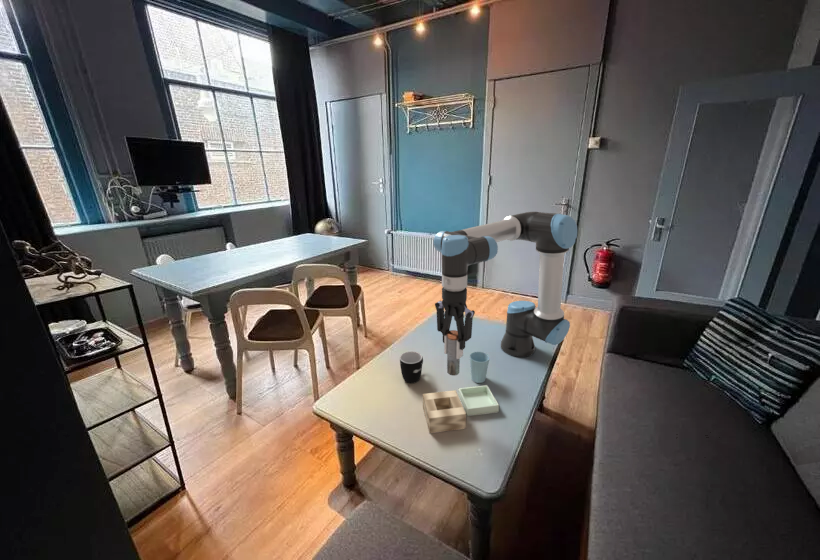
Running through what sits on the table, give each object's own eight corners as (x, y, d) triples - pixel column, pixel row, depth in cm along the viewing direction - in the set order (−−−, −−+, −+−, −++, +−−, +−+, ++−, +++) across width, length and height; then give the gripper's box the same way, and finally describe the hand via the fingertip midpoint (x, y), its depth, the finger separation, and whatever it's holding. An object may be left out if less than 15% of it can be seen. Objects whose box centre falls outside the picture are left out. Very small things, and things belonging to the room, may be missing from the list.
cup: (467, 373, 135) (468, 351, 132) (485, 373, 135) (487, 351, 132) (470, 385, 128) (471, 362, 125) (489, 384, 128) (491, 361, 125)
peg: (445, 368, 110) (446, 330, 105) (457, 367, 110) (458, 329, 105) (448, 376, 106) (449, 336, 101) (460, 374, 106) (461, 335, 101)
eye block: (455, 404, 118) (455, 390, 116) (465, 428, 107) (465, 413, 105) (422, 407, 117) (422, 393, 115) (429, 433, 105) (429, 418, 103)
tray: (486, 391, 124) (487, 385, 123) (498, 412, 114) (498, 405, 113) (458, 395, 123) (458, 388, 122) (467, 416, 112) (467, 408, 111)
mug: (413, 388, 127) (413, 366, 124) (396, 380, 132) (395, 358, 129) (431, 373, 136) (431, 352, 133) (414, 366, 141) (413, 345, 138)
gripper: (424, 284, 101) (426, 350, 109) (472, 297, 90) (469, 369, 98) (439, 278, 106) (439, 341, 114) (485, 289, 95) (482, 358, 103)
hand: (453, 354), depth 106 cm, fingers closed on peg, 4 cm apart
